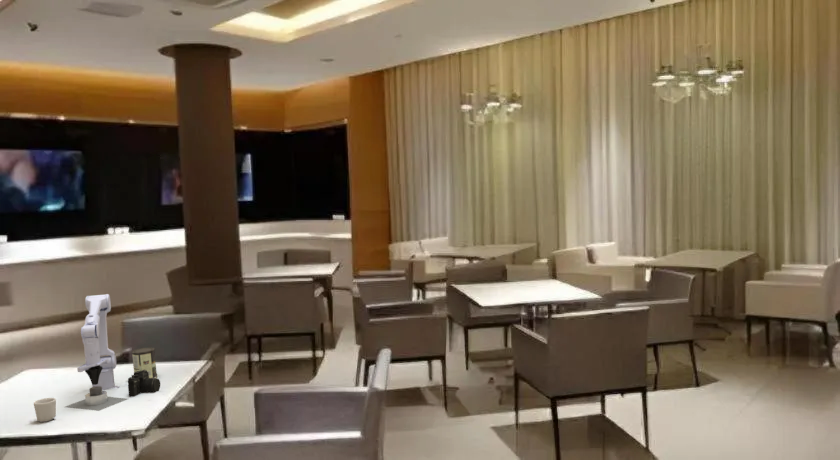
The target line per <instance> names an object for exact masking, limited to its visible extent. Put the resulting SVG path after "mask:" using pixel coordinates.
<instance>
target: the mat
mask: <svg viewBox="0 0 840 460" xmlns="http://www.w3.org/2000/svg"><path fill="white" fill-rule="evenodd" d="M107 400H108V401H107V402H106V403H104V404H101V405H97V406H87V405H86V401H85V398H84V399H81V400H80V401H76V402H74V403H71V404H69V405H66V406H64V408H69V409H79V410H88V411H98V412H100V411H102V410H104V409H105V410H106V409H107V408H109V407H110V408H111V406H114V405H117V404H120V403H121V402H124V401H127V400H128V398H124V397H114V396H112V397H111V396H107Z"/></svg>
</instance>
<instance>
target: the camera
mask: <svg viewBox="0 0 840 460" xmlns="http://www.w3.org/2000/svg"><path fill="white" fill-rule="evenodd" d="M127 384H128V385H127V389H128V397H130V398H132V397H136V396H138V395H139V394H145V393H156V392H159V391H160V388H161V380H160V379H159V378H149V374H148V372H147V371H146V370H142V371H136V372H134V371H133V374H131V376H130V377H129V378H127Z"/></svg>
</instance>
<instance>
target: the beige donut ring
mask: <svg viewBox="0 0 840 460" xmlns="http://www.w3.org/2000/svg"><path fill="white" fill-rule="evenodd" d="M107 397H108V392H107V390H102V393H101V394H99V395H90V392H89V393H86V394H85V395H84V399H85V401H86V405H87V406H97V405H101V404H104V403H106V402H107V401H108V400H107Z"/></svg>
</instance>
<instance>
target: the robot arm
mask: <svg viewBox="0 0 840 460" xmlns="http://www.w3.org/2000/svg"><path fill="white" fill-rule="evenodd" d="M84 300H85V301H84V302H85V303H84V305H85V308H86V310H87V311H88V314H87V315H86V316H85V319H84V324H83V326H81V328H80V336H81V340H82V344H83V348H84V349H83V350H84V351H83V352H84V361H85V363H84V364H82V365H80V366H77V367H76V368H77V373H83V372H85V373H86V374H87V376H88V377H89V380H90V382H91V388H92V387H96V386H101V387H102V391H107V390H111V389H113V388H115V389H119V388H120V386H119V385H117V386H116V385H115V374H114V370H115V369H116V368H117V357H116V353H115V351H114V350H113V349H110V348H109V338H108V322H107V316H108V315H107V314H108V313H109V312H111V310H112V306H111V304H112V303H111V296H110V294H109V293H106V294H96V295H95V294H94V295H86V297H85V299H84Z"/></svg>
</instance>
